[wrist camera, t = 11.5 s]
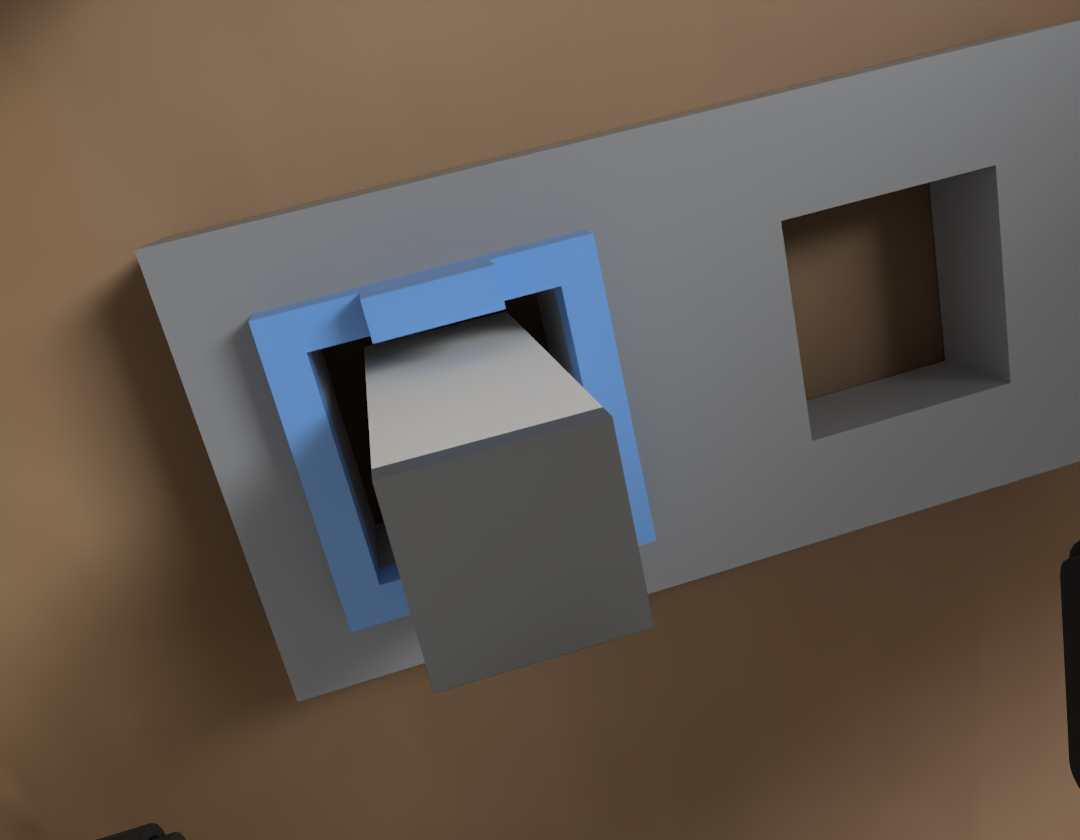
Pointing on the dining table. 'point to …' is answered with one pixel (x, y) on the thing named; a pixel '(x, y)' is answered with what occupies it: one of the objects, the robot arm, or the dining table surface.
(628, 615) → the grey square peg
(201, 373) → the gray peg hole board
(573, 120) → the dining table surface
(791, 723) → the dining table surface
